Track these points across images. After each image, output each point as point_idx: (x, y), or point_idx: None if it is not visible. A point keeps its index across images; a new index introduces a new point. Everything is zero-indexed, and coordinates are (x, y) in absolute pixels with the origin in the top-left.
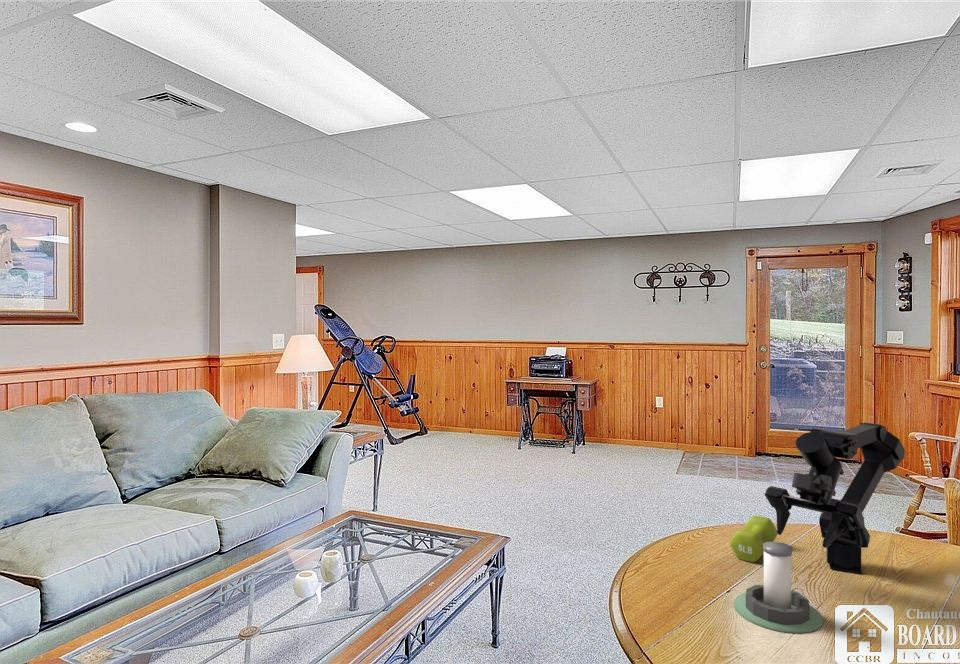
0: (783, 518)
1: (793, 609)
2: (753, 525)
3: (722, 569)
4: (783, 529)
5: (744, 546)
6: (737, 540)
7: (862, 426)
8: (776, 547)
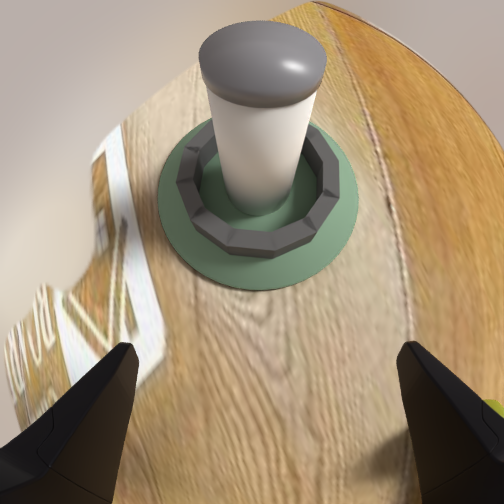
0: (447, 440)
1: (201, 142)
2: None
3: (458, 312)
4: (406, 407)
5: None
6: (492, 407)
7: None
8: (260, 42)
